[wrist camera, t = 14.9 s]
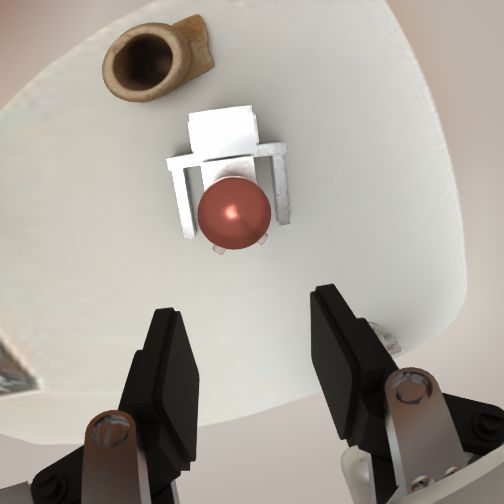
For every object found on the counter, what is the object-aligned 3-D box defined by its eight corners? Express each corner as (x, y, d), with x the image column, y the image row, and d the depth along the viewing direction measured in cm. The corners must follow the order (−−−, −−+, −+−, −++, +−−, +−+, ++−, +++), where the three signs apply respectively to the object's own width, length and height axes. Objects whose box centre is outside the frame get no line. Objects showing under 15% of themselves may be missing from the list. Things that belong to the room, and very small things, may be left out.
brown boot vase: (143, 122, 42) (108, 119, 28) (113, 63, 37) (71, 41, 23) (232, 76, 40) (236, 51, 26) (199, 17, 36) (190, -26, 22)
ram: (250, 151, 34) (265, 162, 22) (257, 212, 37) (275, 254, 25) (202, 158, 34) (189, 173, 22) (211, 219, 37) (206, 264, 25)
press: (275, 111, 43) (317, 94, 22) (286, 218, 49) (329, 281, 29) (168, 126, 42) (122, 122, 22) (187, 232, 49) (163, 305, 29)
